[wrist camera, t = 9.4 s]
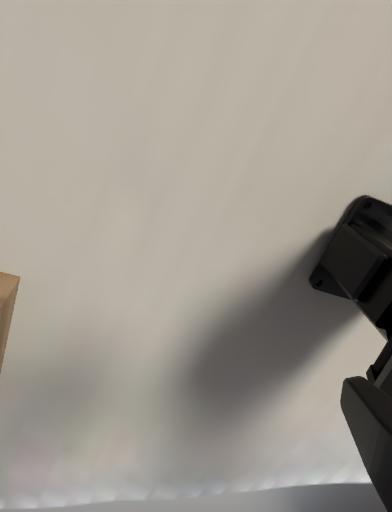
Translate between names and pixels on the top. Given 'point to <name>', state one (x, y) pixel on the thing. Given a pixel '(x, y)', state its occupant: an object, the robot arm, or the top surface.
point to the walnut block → (6, 307)
